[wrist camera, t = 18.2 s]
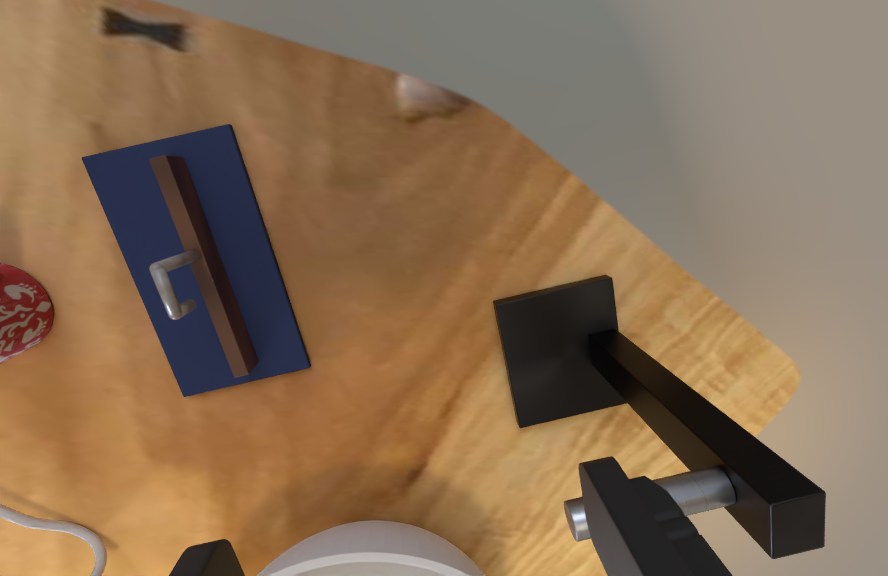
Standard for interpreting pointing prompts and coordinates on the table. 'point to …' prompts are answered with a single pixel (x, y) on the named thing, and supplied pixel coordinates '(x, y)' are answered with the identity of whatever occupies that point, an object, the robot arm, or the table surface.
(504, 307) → the coat stand
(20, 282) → the mug
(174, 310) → the hanger
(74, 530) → the hook
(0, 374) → the table surface
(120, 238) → the mat
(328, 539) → the bowl
